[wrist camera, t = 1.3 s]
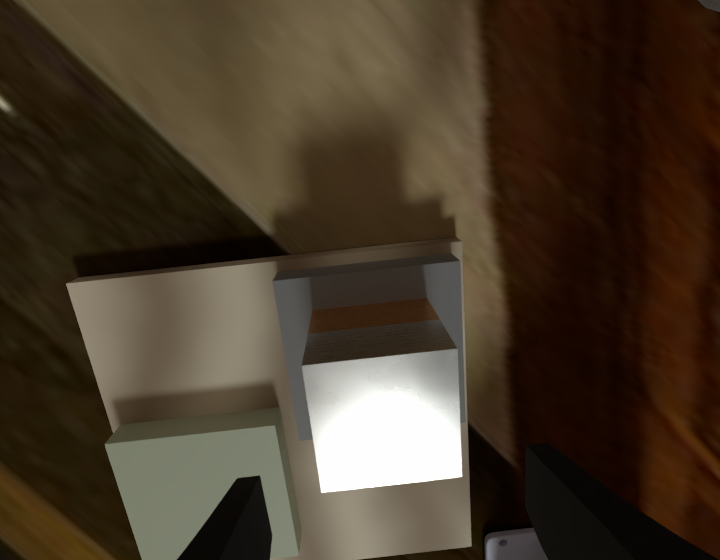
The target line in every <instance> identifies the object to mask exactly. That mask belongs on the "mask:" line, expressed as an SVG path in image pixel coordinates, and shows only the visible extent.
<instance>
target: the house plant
mask: <svg viewBox="0 0 720 560" xmlns="http://www.w3.org/2000/svg"><path fill="white" fill-rule="evenodd" d="M698 1H699V2H700V3H701V4H702V5H703V6H704V7H705V8H708V9H711V10H714V11H718V12H720V0H698Z"/></svg>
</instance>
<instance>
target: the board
mask: <svg viewBox="0 0 720 560" xmlns="http://www.w3.org/2000/svg"><path fill="white" fill-rule="evenodd" d="M447 253H452V254H453V255H454V256H455V257H457V258H458V259H459V260H460V266H461V297H462V327H463V358H464V389H465V419H466V422H465V423H460V428H461V455H462V477H457V478H449V479H440V480H431V481H422V482H413V483H404V484H395V485H386V486H378V487H369V488H360V489H351V490H342V491H333V492H324V493H321V487H320V481H319V474H318V468H317V461H316V455H315V449H314V442H313V440H304V441H299V437H298V431H297V425H296V419H295V413H294V407H293V401H292V395H291V389H290V383H289V377H288V371H287V365H286V360H285V354H284V348H283V342H282V336H281V330H280V324H279V318H278V312H277V306H276V300H275V294H274V288H273V282H272V281H273V279H274V277H275V276H276V274H277V272H280V271H289V270H298V269H308V268H317V267H326V266H336V265H345V264H354V263H364V262H373V261H382V260H392V259H401V258H410V257H420V256H429V255H438V254H447ZM66 285H67V288H68V291H69V295H70V298H71V301H72V304H73V307H74V310H75V314H76V317H77V320H78V323H79V326H80V329H81V333H82V336H83V339H84V342H85V345H86V349H87V352H88V355H89V358H90V361H91V364H92V368H93V371H94V374H95V377H96V380H97V383H98V387H99V390H100V393H101V396H102V399H103V402H104V406H105V409H106V412H107V415H108V418H109V421H110V425H111V428H112V431H113V433H114V432H115V431H116V430H117V429H118V427H119V426H120V425H122V424H131V423H140V422H149V421H158V420H167V419H176V418H185V417H194V416H203V415H212V414H221V413H230V412H239V411H249V410H258V409H267V408H276V407H280V412H281V418H282V424H283V429H284V435H285V440H286V446H287V452H288V457H289V463H290V468H291V474H292V480H293V485H294V491H295V496H296V502H297V508H298V513H299V519H300V524H301V530H302V533H301V542H300V551H299V556H293V557H284V558H276V559H270V560H358V559H367V558H375V557H384V556H393V555H401V554H410V553H419V552H428V551H436V550H445V549H454V548H463V547H471V516H470V484H469V452H468V420H467V387H466V355H465V323H464V291H463V259H462V241H461V240H460V239H458V238H457V237H453V238H444V239H435V240H425V241H416V242H407V243H397V244H388V245H379V246H369V247H360V248H351V249H341V250H332V251H323V252H313V253H304V254H295V255H285V256H276V257H266V258H257V259H248V260H238V261H229V262H220V263H210V264H201V265H192V266H182V267H173V268H164V269H154V270H145V271H136V272H126V273H117V274H108V275H98V276H89V277H80V278H77V279H75V280H73V281H71V282H68V283H66Z"/></svg>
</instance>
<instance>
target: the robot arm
mask: <svg viewBox="0 0 720 560" xmlns="http://www.w3.org/2000/svg"><path fill="white" fill-rule="evenodd" d="M525 508H526V511H527V513H528V516H529V518H530V521H531V523H532V526H533V528H526V529H517V530H508V531H499V532H492V533H489V534H487V535H486V537H485V560H718V559H717V558H715V557H713V556H711V555H710V554H708V553H706V552H705V551H703V550H701V549H700V548H698V547H696V546H694V545H693V544H691V543H689V542H688V541H686V540H684V539H683V538H681V537H679V536H678V535H676V534H675V533H673V532H671V531H670V530H668V529H667V528H665V527H664V526H662V525H661V524H659V523H658V522H656V521H655V520H653V519H652V518H650V517H649V516H647V515H646V514H644V513H643V512H641V511H640V510H638V509H637V508H635V507H634V506H632V505H631V504H630V503H628V502H627V501H625V500H624V499H622V498H621V497H620V496H618V495H617V494H615V493H614V492H613V491H611V490H610V489H609V488H607V487H606V486H604V485H603V484H602V483H600V482H599V481H598V480H596V479H595V478H594V477H592V476H591V475H590V474H588V473H587V472H586V471H584V470H583V469H582V468H581V467H579V466H578V465H577V464H575V463H574V462H573V461H571V460H570V459H569V458H567V457H566V456H565V455H564V454H562V453H561V452H560V451H558V450H557V449H556V448H554V447H553V446H552V445H550V444H549V443H542V444H533V445H526V452H525ZM271 544H272V531H271V526H270V521H269V516H268V512H267V507H266V502H265V497H264V492H263V487H262V483H261V478H260V476H251V477H242V478H237V479H236V480H235V482H234V483H233V484H232V486H231V487H230V488H229V490H228V491H227V493H226V494H225V496H224V497H223V498H222V500H221V501H220V503H219V504H218V505H217V507H216V508H215V510H214V511H213V512H212V514H211V515H210V517H209V518H208V519H207V521H206V522H205V523H204V525H203V526H202V527H201V529H200V530H199V531H198V533H197V534H196V535H195V537H194V538H193V539H192V541H191V542H190V543H189V545H188V546H187V547H186V549H185V550H184V551H183V552H182V554H181V555H180V556H179V557H178V559H177V560H270V554H271Z"/></svg>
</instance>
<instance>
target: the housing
mask: <svg viewBox="0 0 720 560" xmlns="http://www.w3.org/2000/svg"><path fill="white" fill-rule="evenodd" d="M302 372H303V378H304V385H305V391H306V397H307V404H308V410H309V417H310V423H311V429H312V436H313V442H314V449H315V455H316V461H317V468H318V474H319V481H320V487H321V493H324V492H333V491H342V490H351V489H360V488H369V487H378V486H386V485H395V484H404V483H413V482H422V481H431V480H440V479H449V478H457V477H462V455H461V428H460V401H459V374H458V348H457V347H456V345H455V343H454V342H453V340H452V338H451V337H450V335H449V333H448V332H447V330H446V328H445V327H444V325H443V324H442V322H441V320H440V319H439V317H438V315H437V314H436V312H435V310H434V309H433V307H432V305H431V304H430V302H429V300H428V299H427V298H422V299H413V300H404V301H394V302H385V303H376V304H367V305H357V306H348V307H339V308H330V309H321V310H312V315H311V320H310V325H309V330H308V335H307V341H306V346H305V351H304V356H303V361H302Z"/></svg>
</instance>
